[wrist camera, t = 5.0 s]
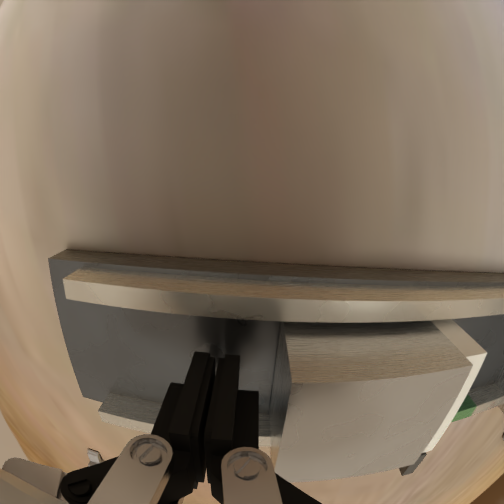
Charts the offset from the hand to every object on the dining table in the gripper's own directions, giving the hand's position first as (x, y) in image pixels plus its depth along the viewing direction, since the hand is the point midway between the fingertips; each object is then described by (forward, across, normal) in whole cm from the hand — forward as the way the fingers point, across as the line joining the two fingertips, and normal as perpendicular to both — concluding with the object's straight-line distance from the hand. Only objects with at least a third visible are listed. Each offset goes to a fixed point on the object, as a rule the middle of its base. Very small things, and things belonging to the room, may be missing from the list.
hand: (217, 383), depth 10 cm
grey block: (+1, -5, 0) cm, 5 cm away
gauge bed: (+3, -5, 0) cm, 6 cm away
